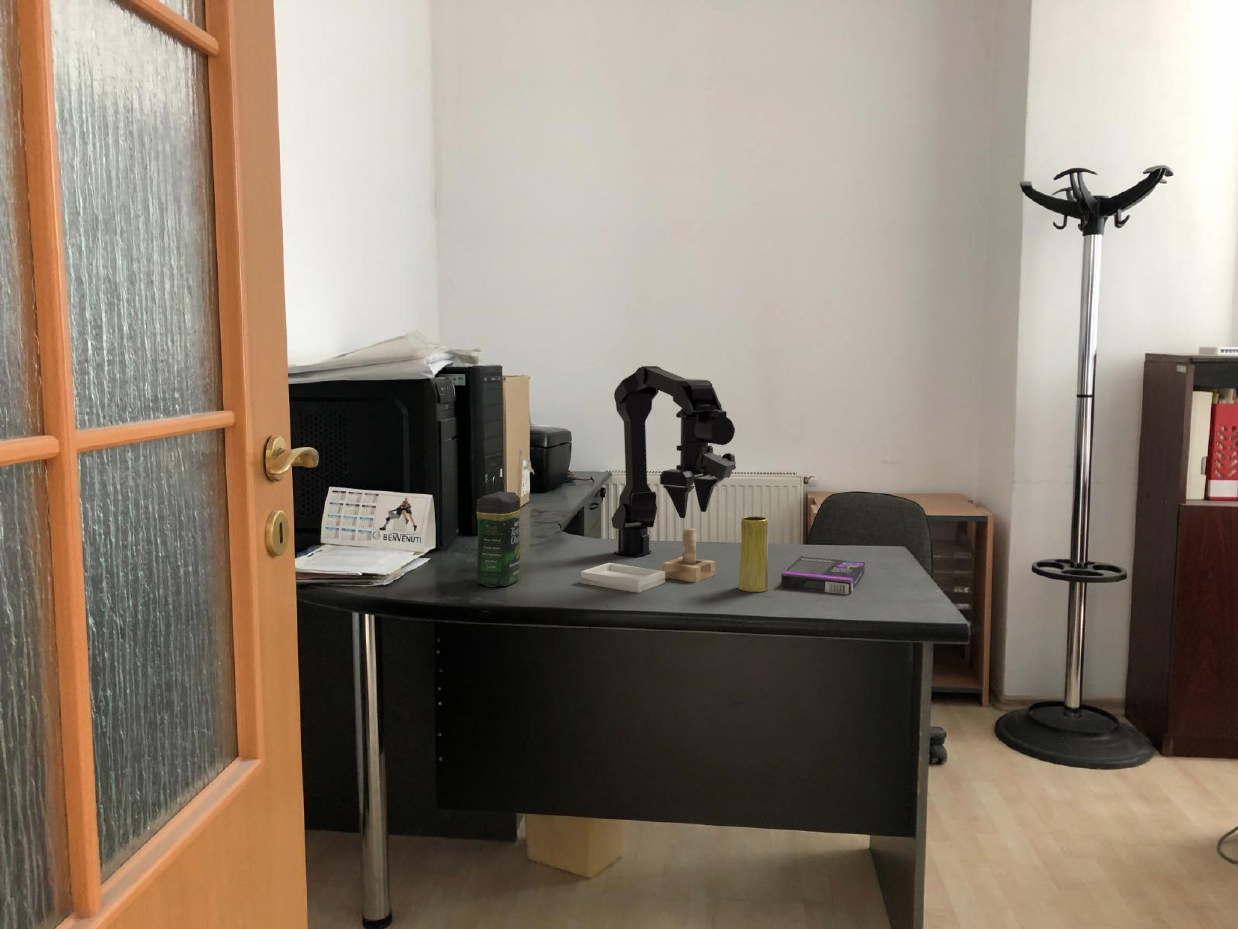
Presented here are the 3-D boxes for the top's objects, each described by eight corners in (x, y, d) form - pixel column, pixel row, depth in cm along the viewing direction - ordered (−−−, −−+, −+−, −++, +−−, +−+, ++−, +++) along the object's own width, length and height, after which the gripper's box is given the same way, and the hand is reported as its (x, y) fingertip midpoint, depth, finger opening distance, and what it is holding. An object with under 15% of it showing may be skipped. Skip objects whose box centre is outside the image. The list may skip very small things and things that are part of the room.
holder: (662, 577, 207) (662, 563, 207) (682, 570, 214) (682, 556, 213) (696, 582, 203) (696, 568, 202) (714, 575, 209) (715, 561, 209)
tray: (580, 583, 202) (580, 571, 201) (608, 573, 210) (608, 562, 210) (638, 592, 194) (638, 580, 194) (665, 582, 202) (665, 571, 202)
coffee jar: (507, 589, 196) (507, 496, 194) (471, 586, 199) (470, 494, 196) (526, 578, 205) (525, 490, 203) (491, 575, 208) (490, 488, 206)
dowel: (679, 576, 208) (680, 529, 207) (686, 574, 210) (687, 527, 209) (691, 578, 206) (691, 531, 205) (698, 575, 209) (698, 529, 207)
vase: (732, 586, 199) (733, 516, 198) (759, 584, 202) (760, 515, 200) (746, 593, 194) (748, 521, 192) (774, 591, 196) (776, 520, 194)
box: (850, 599, 194) (865, 576, 211) (850, 581, 193) (866, 560, 211) (779, 591, 199) (800, 569, 217) (780, 574, 198) (801, 553, 216)
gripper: (707, 447, 193) (706, 525, 195) (749, 439, 209) (747, 512, 210) (658, 443, 199) (657, 520, 201) (702, 436, 215) (701, 507, 216)
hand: (693, 514), depth 207 cm, fingers open, 9 cm apart
